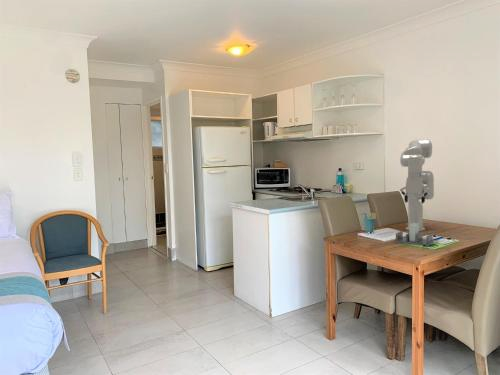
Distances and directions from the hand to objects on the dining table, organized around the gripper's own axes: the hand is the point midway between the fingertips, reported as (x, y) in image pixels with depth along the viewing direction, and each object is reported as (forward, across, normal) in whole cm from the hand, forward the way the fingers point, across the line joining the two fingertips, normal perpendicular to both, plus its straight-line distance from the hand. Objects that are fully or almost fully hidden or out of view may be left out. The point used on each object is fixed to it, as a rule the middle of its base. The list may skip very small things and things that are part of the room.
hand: (414, 202), depth 242 cm
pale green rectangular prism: (+23, 0, +2) cm, 23 cm away
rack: (+25, 0, +2) cm, 25 cm away
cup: (+25, +35, -12) cm, 45 cm away
